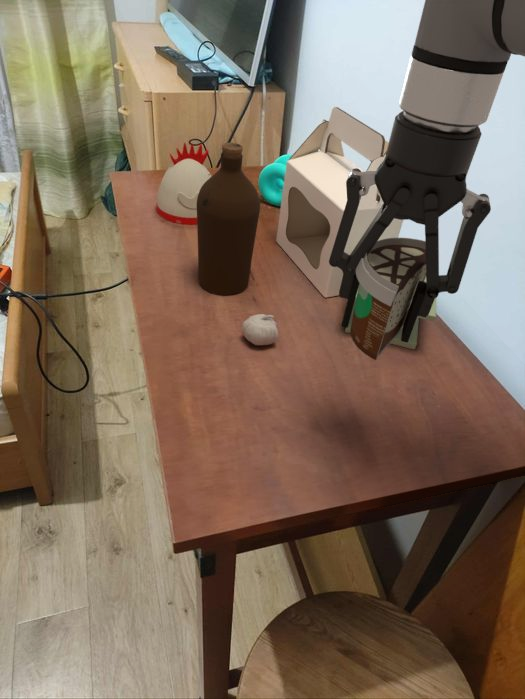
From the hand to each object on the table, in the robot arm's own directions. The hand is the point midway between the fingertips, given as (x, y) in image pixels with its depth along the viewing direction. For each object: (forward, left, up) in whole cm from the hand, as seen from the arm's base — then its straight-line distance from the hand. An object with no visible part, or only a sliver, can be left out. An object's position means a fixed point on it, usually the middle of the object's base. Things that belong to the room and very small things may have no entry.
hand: (375, 327), depth 59 cm
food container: (+1, 0, -1) cm, 1 cm away
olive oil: (+27, -28, -18) cm, 43 cm away
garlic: (+16, -14, -18) cm, 28 cm away
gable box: (+10, -43, -18) cm, 48 cm away
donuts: (+26, -68, -18) cm, 75 cm away
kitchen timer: (+44, -52, -18) cm, 70 cm away
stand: (-3, -28, -18) cm, 33 cm away
